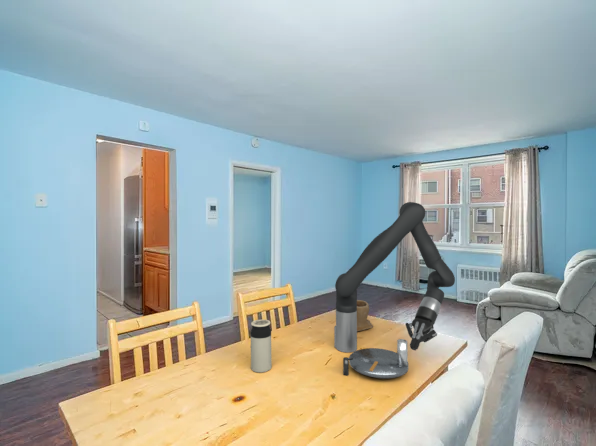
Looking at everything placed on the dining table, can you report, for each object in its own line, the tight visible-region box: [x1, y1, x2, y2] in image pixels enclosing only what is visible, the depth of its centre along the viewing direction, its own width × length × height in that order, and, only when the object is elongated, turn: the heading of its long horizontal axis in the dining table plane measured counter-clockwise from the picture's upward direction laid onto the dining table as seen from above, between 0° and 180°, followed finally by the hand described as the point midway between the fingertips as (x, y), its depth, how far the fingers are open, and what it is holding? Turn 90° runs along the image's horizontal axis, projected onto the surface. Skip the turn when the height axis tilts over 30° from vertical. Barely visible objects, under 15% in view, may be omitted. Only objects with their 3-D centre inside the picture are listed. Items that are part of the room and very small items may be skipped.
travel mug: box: [250, 319, 273, 373], centre depth 124 cm, size 8×8×18 cm
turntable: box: [348, 338, 409, 379], centre depth 122 cm, size 22×22×10 cm
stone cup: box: [357, 299, 374, 332], centre depth 166 cm, size 15×12×15 cm
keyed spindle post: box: [342, 356, 353, 377], centre depth 120 cm, size 13×19×6 cm, turn 131°
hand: (412, 349), depth 122 cm, fingers closed
